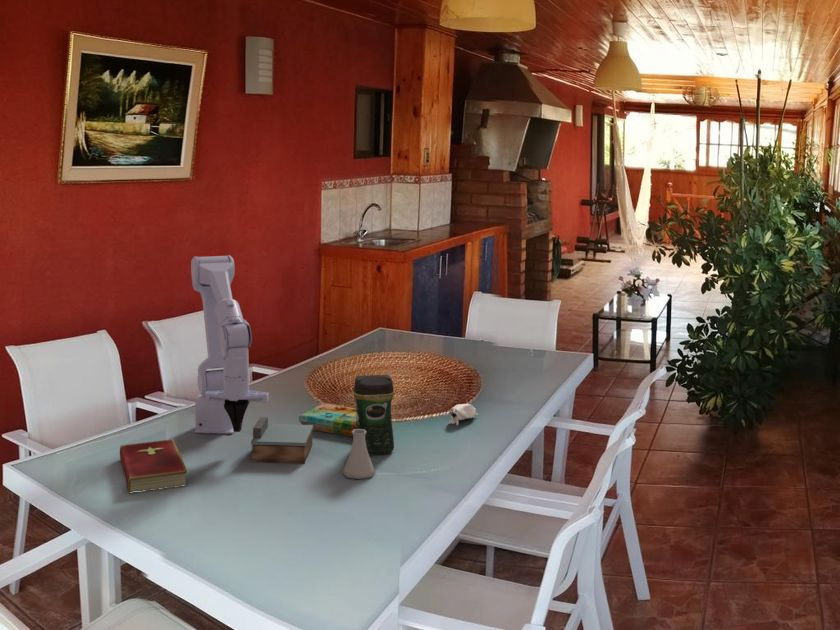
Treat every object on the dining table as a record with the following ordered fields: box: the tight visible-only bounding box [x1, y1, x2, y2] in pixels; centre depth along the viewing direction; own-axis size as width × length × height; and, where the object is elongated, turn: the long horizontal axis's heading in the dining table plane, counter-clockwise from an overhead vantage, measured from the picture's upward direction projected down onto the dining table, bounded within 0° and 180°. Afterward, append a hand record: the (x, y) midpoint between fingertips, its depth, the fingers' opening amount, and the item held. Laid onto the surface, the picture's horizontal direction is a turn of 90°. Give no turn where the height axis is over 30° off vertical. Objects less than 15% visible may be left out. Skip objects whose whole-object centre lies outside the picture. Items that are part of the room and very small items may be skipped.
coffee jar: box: [353, 374, 395, 456], centre depth 204 cm, size 10×8×19 cm
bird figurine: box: [448, 403, 479, 426], centre depth 229 cm, size 5×7×10 cm
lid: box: [250, 416, 314, 446], centre depth 201 cm, size 12×12×3 cm
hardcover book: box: [119, 438, 188, 493], centre depth 189 cm, size 12×21×4 cm, turn 24°
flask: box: [342, 429, 376, 480], centre depth 190 cm, size 7×7×10 cm
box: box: [251, 431, 313, 465], centre depth 202 cm, size 12×12×4 cm
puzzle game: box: [298, 402, 356, 438], centre depth 221 cm, size 12×5×20 cm
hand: (237, 430), depth 202 cm, fingers closed
